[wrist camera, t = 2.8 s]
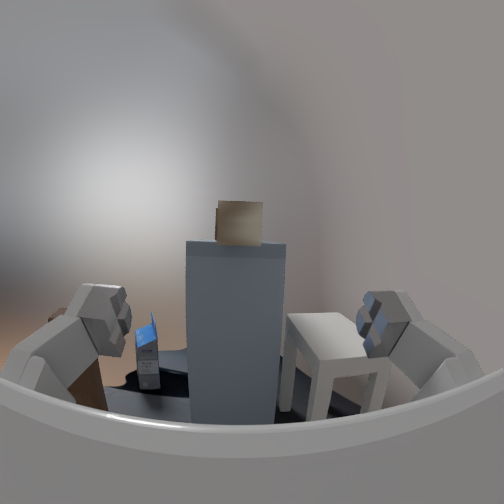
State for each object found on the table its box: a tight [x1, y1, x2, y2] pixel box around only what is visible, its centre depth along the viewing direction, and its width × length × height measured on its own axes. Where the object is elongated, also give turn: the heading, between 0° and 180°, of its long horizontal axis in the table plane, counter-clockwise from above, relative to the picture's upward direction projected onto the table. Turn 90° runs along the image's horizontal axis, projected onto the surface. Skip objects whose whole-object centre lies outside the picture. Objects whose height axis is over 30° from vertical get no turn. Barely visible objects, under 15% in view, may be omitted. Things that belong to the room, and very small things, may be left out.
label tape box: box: [135, 312, 160, 389], centre depth 46 cm, size 9×4×12 cm, turn 25°
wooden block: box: [48, 308, 109, 412], centre depth 24 cm, size 9×4×18 cm, turn 19°
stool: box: [279, 313, 392, 422], centre depth 32 cm, size 8×16×16 cm, turn 4°
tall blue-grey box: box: [186, 239, 286, 425], centre depth 37 cm, size 10×16×26 cm, turn 4°
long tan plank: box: [215, 201, 263, 246], centre depth 29 cm, size 5×21×4 cm, turn 4°
